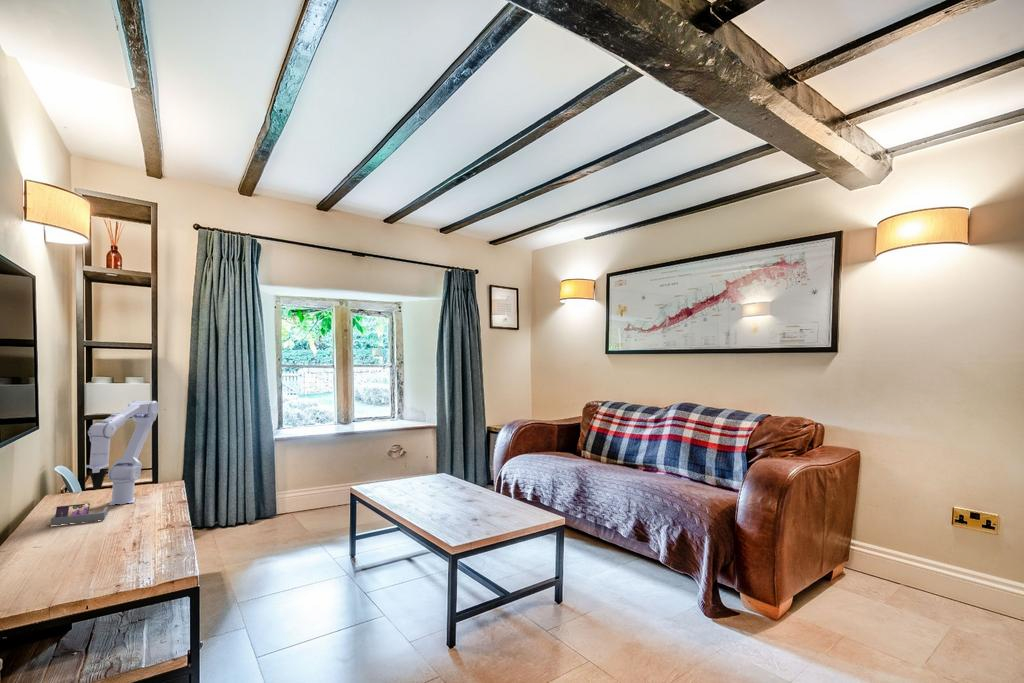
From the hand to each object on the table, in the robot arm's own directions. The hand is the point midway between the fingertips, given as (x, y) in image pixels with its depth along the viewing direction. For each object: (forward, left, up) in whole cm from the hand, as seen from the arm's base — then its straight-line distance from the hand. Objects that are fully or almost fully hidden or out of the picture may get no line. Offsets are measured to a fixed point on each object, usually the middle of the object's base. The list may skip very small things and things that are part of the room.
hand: (97, 488), depth 186 cm
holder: (+10, -3, -9) cm, 14 cm away
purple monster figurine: (+12, -5, -10) cm, 16 cm away
